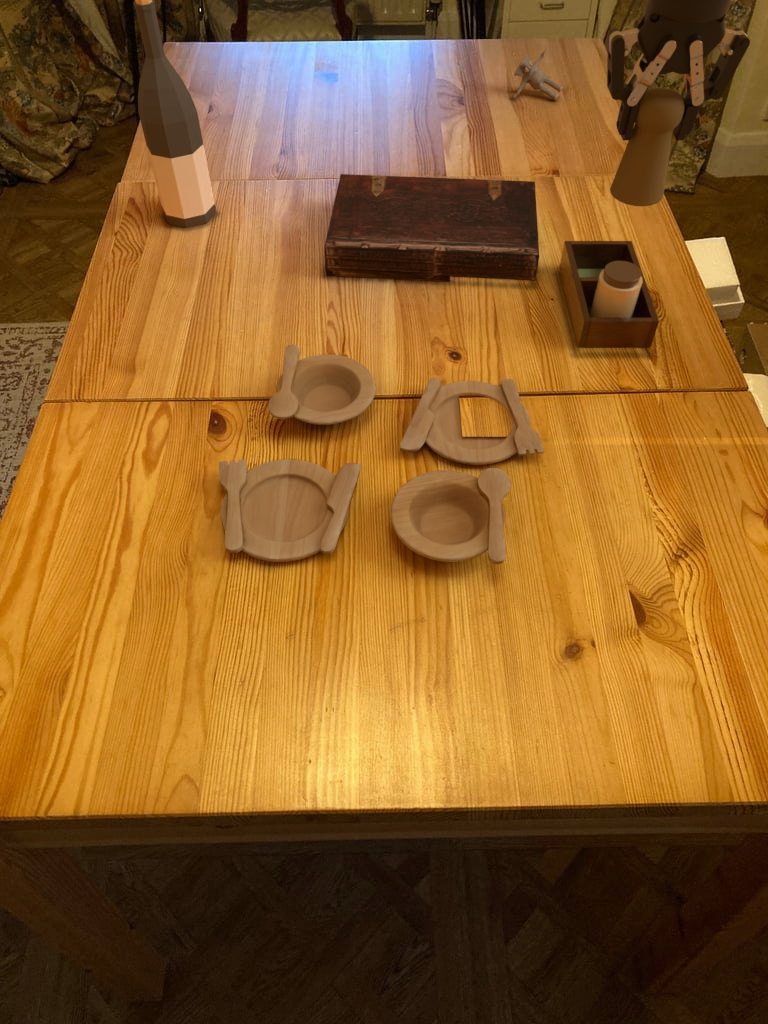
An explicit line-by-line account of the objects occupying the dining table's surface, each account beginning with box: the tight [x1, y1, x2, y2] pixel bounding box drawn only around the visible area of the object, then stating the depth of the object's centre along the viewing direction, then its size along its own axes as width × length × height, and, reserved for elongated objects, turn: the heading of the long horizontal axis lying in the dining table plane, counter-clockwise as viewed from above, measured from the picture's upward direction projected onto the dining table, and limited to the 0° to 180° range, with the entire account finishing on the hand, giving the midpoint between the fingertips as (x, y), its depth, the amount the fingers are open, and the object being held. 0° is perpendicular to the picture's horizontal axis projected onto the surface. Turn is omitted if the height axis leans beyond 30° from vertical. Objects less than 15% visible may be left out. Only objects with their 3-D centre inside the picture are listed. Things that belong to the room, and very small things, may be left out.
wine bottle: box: [133, 0, 216, 229], centre depth 106 cm, size 8×8×30 cm
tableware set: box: [218, 344, 545, 565], centre depth 84 cm, size 35×29×4 cm
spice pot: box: [589, 261, 643, 318], centre depth 96 cm, size 5×5×8 cm
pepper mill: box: [609, 87, 685, 207], centre depth 84 cm, size 6×6×11 cm
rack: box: [559, 240, 660, 349], centre depth 101 cm, size 9×17×5 cm, turn 0°
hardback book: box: [324, 173, 540, 282], centre depth 111 cm, size 29×19×5 cm, turn 85°
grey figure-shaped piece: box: [512, 48, 564, 101], centre depth 141 cm, size 10×6×9 cm
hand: (651, 136), depth 84 cm, fingers closed on pepper mill, 5 cm apart
